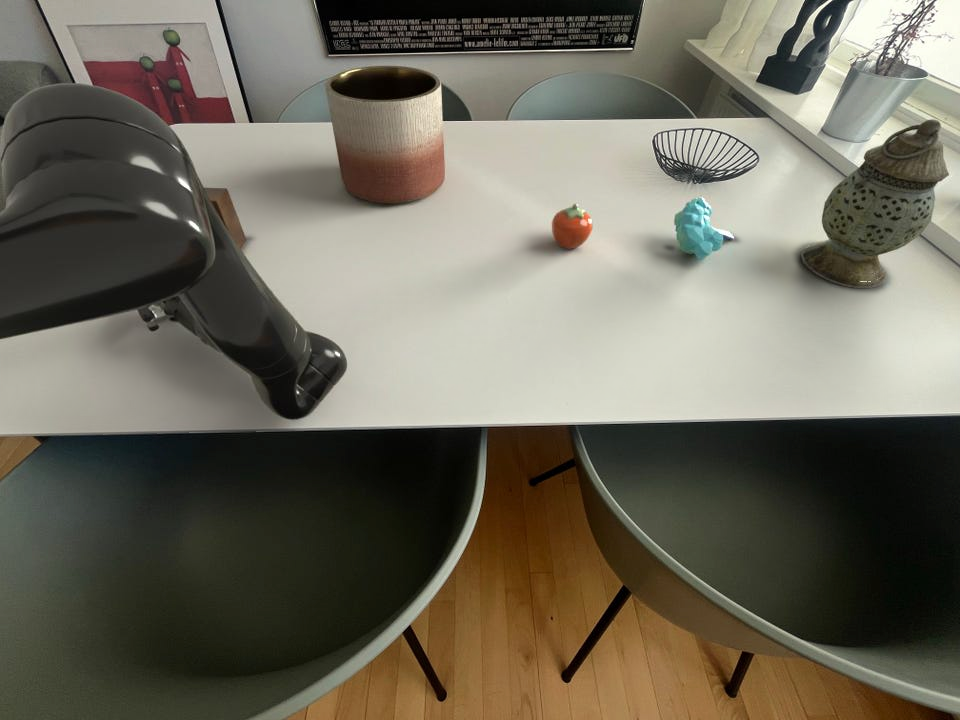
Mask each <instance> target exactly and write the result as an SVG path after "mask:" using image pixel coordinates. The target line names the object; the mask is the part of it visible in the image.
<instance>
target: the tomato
mask: <svg viewBox="0 0 960 720" xmlns="http://www.w3.org/2000/svg"><path fill="white" fill-rule="evenodd" d="M593 225H594V224H593V219H592V217H591V216H590V214H588V212H586V211H585V209H584V208H581V207H579V204H578V203H573V204H572V205H571V206H569V207H566V208H564V209H561V210H559V211H558V212H556V214H555V215H554V216H553V218H552V220H551V232H552V236H553V239H554V240H555V241H556V243H557V244H558V245H559V246H560V247H562V248H565V249H576V248H577V249H578V247H581V246H582V245H583V244H584V243H585V242H586V241H587V240H588V239H589V237H590V235H591V233H592V231H593Z"/></svg>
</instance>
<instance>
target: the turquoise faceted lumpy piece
mask: <svg viewBox="0 0 960 720" xmlns="http://www.w3.org/2000/svg"><path fill="white" fill-rule="evenodd" d="M711 215H712V207H711V206H710V205H709V204H708V203H707V202H706V200H705V199H704V198H703V197H701V196H699V197H696V198H692V199H691V201H688V202H686V203H685V206H684V207H683V209H682V210H681V211H679V212H677V213H675V214H674V219H673V224H674V226H675V230H674V231H675V232H676V234H675V236H676V238H675V239H676V240H677V242H678V243H679V246H680V247H679V248H680V251H682V252H683V253H685V254H689V255H692V254H694V255H695V256H696V257H697V259H698V260H700V261H702V260H704V259H705V258H707V257H709V256H710V255H711V254H712V252H717V251H719V250H720V249H721V247H722V245H723V243H724V238H725V239H729V240H735V237H734V236H733V234H732V233H731V232H730V231H727V230H723V229H718V228H715V227H713V226H712V225H710V222H711V221H710V217H711Z"/></svg>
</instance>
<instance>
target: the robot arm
mask: <svg viewBox="0 0 960 720" xmlns="http://www.w3.org/2000/svg"><path fill="white" fill-rule="evenodd" d="M0 171H1V172H0V173H1V181H2V192H3V193H2V194H3V206H4V209H3V210H2V211H1V212H0V340H5V339H10V338H14V337H18V336H23V335H28V334H33V333H37V332H44V331H48V330H51V329H56V328H62V327H65V326H69V325H75V324H80V323H84V322H85V323H86V322H88V321H95V320H99V319H103V318H107V317H108V318H109V317H112V316H117V315H120V314H126V313H130V312H133V311H137V312H138V315H139V316H140V318H141V320H142V321H143V323H144V325H145V326H146V327H147V329H148V331H150V332H156V331H158V330H159V329H160V326H159V325H160V324H162V323H165V322H167V321H170V322H172V323H178V324H180V325H181V326H182V327H183V328H185V329H186V330H187V331H189V332H190V333H191V334H193V335H194V336H196V338H198V339H199V340H200V341H201V342H202V343H203V344H204V345H205V346H208V347H210V348H212V350H214V351H215V352H218V353H220V354H222V355H223V356H224V357H225V358H226V359H228V360H229V361H230V362H231V363H232V364H234V365H236V366H237V367H238V368H240V369H241V370H242V371H244V372H245V373H246V374H248V375H249V376H250V378H251V380H252V383H253V386H254V388H255V390H256V392H257V394H258V396H259V399H261V401H262V402H263V404H264V405H265V406H266V407H267V408H268V409H269V410H270V411H271V412H272V413H274V414H275V415H277V416H278V417H280V418H282V419H285V420H289V421H297V420H302V419H305V418H307V417H308V416H310V415H311V414H312V413H313V412H314V411H315V410H316V409H317V408H318V406H320V404H321V403H322V402H323V401H324V399H326V397H327V396H328V394H330V392H331V391H332V390H333V389H334V387H335V386H336V385H337V384H338V383H339V381H341V379H342V378H343V377H344V375H345V374H346V372H347V369H348V360H347V357H346V354H345V352H344V351H343V349H342V348H341V346H339V345H338V344H337V343H336V342H335V341H333V340H332V339H330V338H328V337H326V336H324V335H321V334H319V333H316V332H312V331H308V330H305V329H304V328H303V326H302V325H301V324H300V323H299V322H298V320H297V319H296V318H295V317H294V316H293V315H292V313H291V312H290V311H289V310H288V308H287V307H286V306H285V305H284V304H283V303H282V302H281V300H280V299H279V298H278V296H276V295H275V293H274V292H273V291H272V290H271V288H270V287H269V286H268V285H267V283H266V282H265V281H264V279H263V278H262V277H261V275H260V274H259V273H258V271H257V270H256V269H255V267H254V266H253V265H252V263H251V262H250V261H249V259H248V258H247V256H246V255H245V253H244V252H243V251H242V249H241V248H239V246H238V245H237V243H236V242H235V240H234V239H233V237H232V236H231V234H230V233H229V231H228V229H227V228H226V226H225V225H224V223H223V221H222V220H221V218H220V216H219V215H218V213H217V211H216V210H215V208H214V206H213V204H212V203H211V201H210V199H209V197H208V195H207V193H206V191H205V189H204V188H205V187H204V185H203V183H202V181H201V179H200V177H199V175H198V173H197V171H196V168H195V164H194V162H193V160H192V158H191V156H190V154H189V152H188V151H187V148H186V147H185V146H184V144H183V142H182V140H181V139H180V138H179V136H178V135H177V133H176V132H175V131H174V130H173V128H172V127H171V126H169V124H168V123H166V121H164V119H162V118H161V117H160V116H159V115H158V114H156V112H154V111H153V110H151V109H150V108H148V107H147V106H145V105H144V104H143V103H141V102H139V101H138V100H136V99H133V98H131V97H130V96H127V95H125V94H123V93H121V92H118V91H115V90H112V89H108V88H105V87H104V86H103V87H102V86H99V85H93V84H86V83H80V82H79V83H78V82H77V83H75V82H74V83H73V82H72V83H71V82H70V83H69V82H66V83H65V82H61V83H54V84H48V85H43V86H39V87H37V88H34V89H33V90H31V91H28V92H27V93H25V94H24V95H23V96H22V97H19V99H18V100H16V101H15V102H14V103H13V104H12V106H11V108H10V109H9V110H8V112H7V114H6V115H5V118H4V122H3V126H2V131H1V135H0ZM151 306H154V307H159V308H160V307H162V308H163V309H164V310H162V311H158V310H157V309H154V308H153V307H151Z"/></svg>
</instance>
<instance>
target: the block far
mask: <svg viewBox="0 0 960 720" xmlns="http://www.w3.org/2000/svg"><path fill="white" fill-rule="evenodd" d="M204 189H205V191H206V193H207V195H208V197H209V199H210V201H211V203H212V204H213V206H214V208H215V210H216V211H217V213H218V215H219V216H220V218H221V220H222V221H223V223H224V225H225V226H226V228H227V229H228V231H229V233H230V234H231V236H232V237H233V239H234V240H235V242H236V243H237V245H238V246H239V248H240V249H241V248H242V247H243V246H244V244H245V242H246V241H247V237H246V235H245V231H244V230H243V227H242V224H241V221H240V219H239V216H238V213H237V211H236V208H235V205H234V203H233V200H232V198H231V194H230V192H229V189H228V188H227V187H204Z"/></svg>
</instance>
